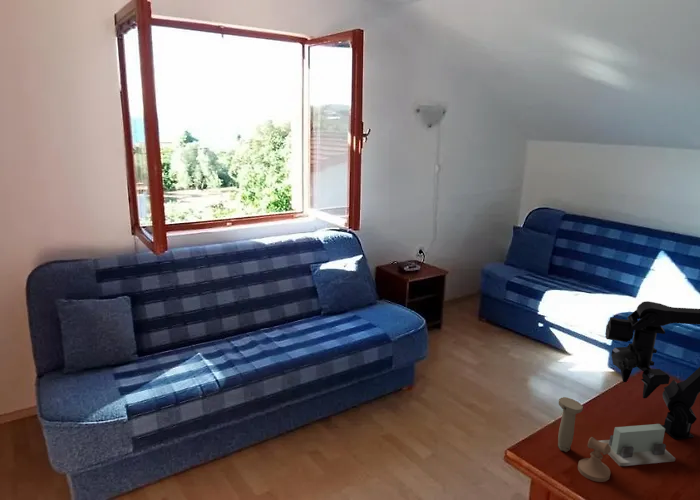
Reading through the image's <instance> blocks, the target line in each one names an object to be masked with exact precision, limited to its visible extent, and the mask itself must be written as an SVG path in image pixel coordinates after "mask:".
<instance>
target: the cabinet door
mask: <svg viewBox="0 0 700 500" xmlns="http://www.w3.org/2000/svg"><path fill="white" fill-rule="evenodd" d="M661 425H662V424H660V423H654V424H641V425H640V424H639V425H627V426H626V425H625V426H615V427H614V430H613V440H612V445H611V449H612V450H613V451H614V452H615V453H616V454H621V451H622V447H629V446H632V447H633V448H634V450H633V453H634V452H645V451H653V449H654V444H664V443H663V442H664V438H665V432H666V431H665V428H664V427H662V426H661Z"/></svg>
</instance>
